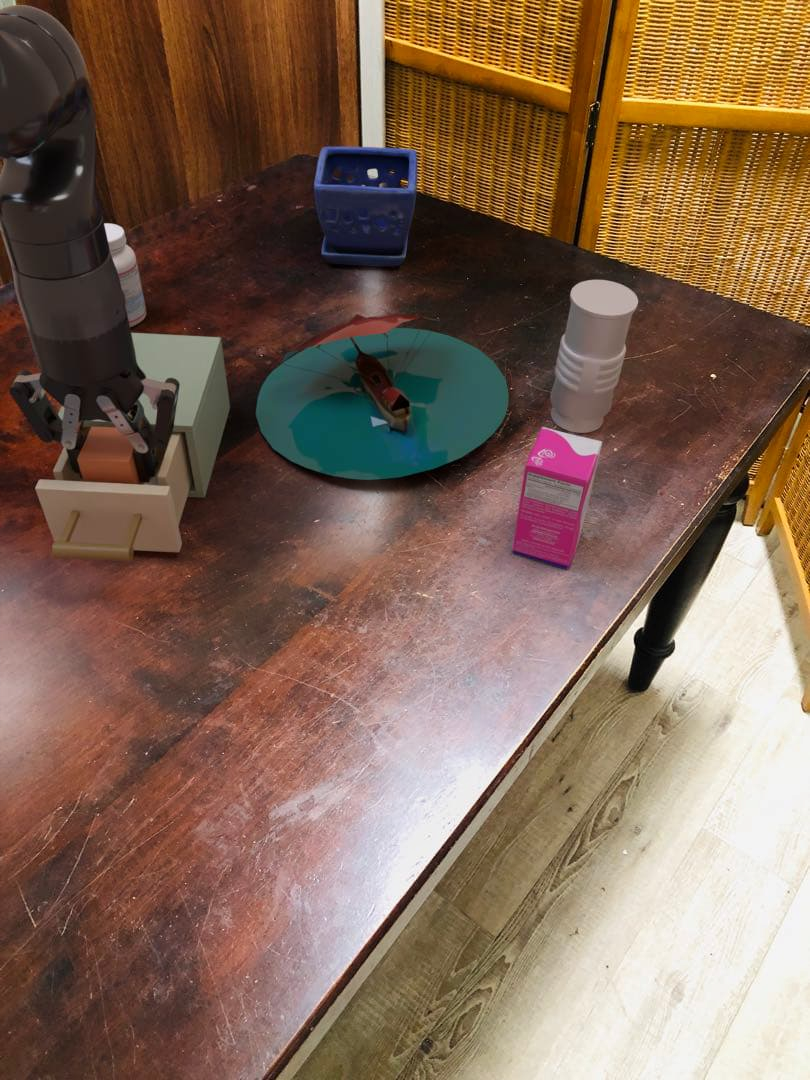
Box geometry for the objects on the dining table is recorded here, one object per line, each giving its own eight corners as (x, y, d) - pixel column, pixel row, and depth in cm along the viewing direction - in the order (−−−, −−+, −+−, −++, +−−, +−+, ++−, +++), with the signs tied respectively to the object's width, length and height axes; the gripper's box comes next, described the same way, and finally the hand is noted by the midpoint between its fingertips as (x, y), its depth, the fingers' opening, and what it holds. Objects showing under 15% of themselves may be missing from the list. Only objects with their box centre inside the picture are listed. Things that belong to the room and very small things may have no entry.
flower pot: (313, 272, 118) (310, 185, 110) (323, 225, 127) (321, 142, 119) (412, 277, 118) (416, 191, 110) (415, 230, 128) (419, 147, 119)
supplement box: (525, 514, 87) (542, 423, 79) (583, 531, 86) (607, 441, 78) (508, 553, 84) (524, 462, 75) (568, 572, 82) (592, 481, 74)
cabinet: (204, 498, 87) (192, 426, 81) (77, 491, 87) (55, 418, 81) (230, 407, 97) (221, 337, 91) (116, 401, 97) (99, 330, 91)
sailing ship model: (444, 318, 112) (442, 235, 104) (554, 442, 93) (562, 352, 85) (230, 376, 105) (211, 292, 97) (302, 523, 86) (286, 432, 78)
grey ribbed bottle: (544, 430, 97) (567, 311, 86) (548, 393, 101) (571, 275, 91) (607, 440, 96) (639, 320, 85) (608, 402, 101) (638, 284, 90)
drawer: (166, 596, 77) (152, 538, 72) (37, 589, 77) (13, 531, 72) (207, 457, 90) (198, 399, 85) (96, 451, 90) (80, 393, 85)
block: (88, 497, 79) (76, 459, 76) (101, 464, 82) (91, 426, 79) (138, 499, 79) (128, 461, 76) (149, 466, 82) (141, 428, 79)
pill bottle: (87, 315, 109) (65, 229, 101) (131, 299, 112) (113, 214, 104) (111, 337, 106) (91, 250, 98) (156, 319, 109) (140, 234, 101)
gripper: (-37, 332, 65) (25, 499, 77) (156, 342, 65) (188, 507, 77) (-1, 279, 70) (52, 444, 83) (178, 289, 70) (204, 452, 83)
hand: (118, 474), depth 80 cm, fingers open, 4 cm apart
